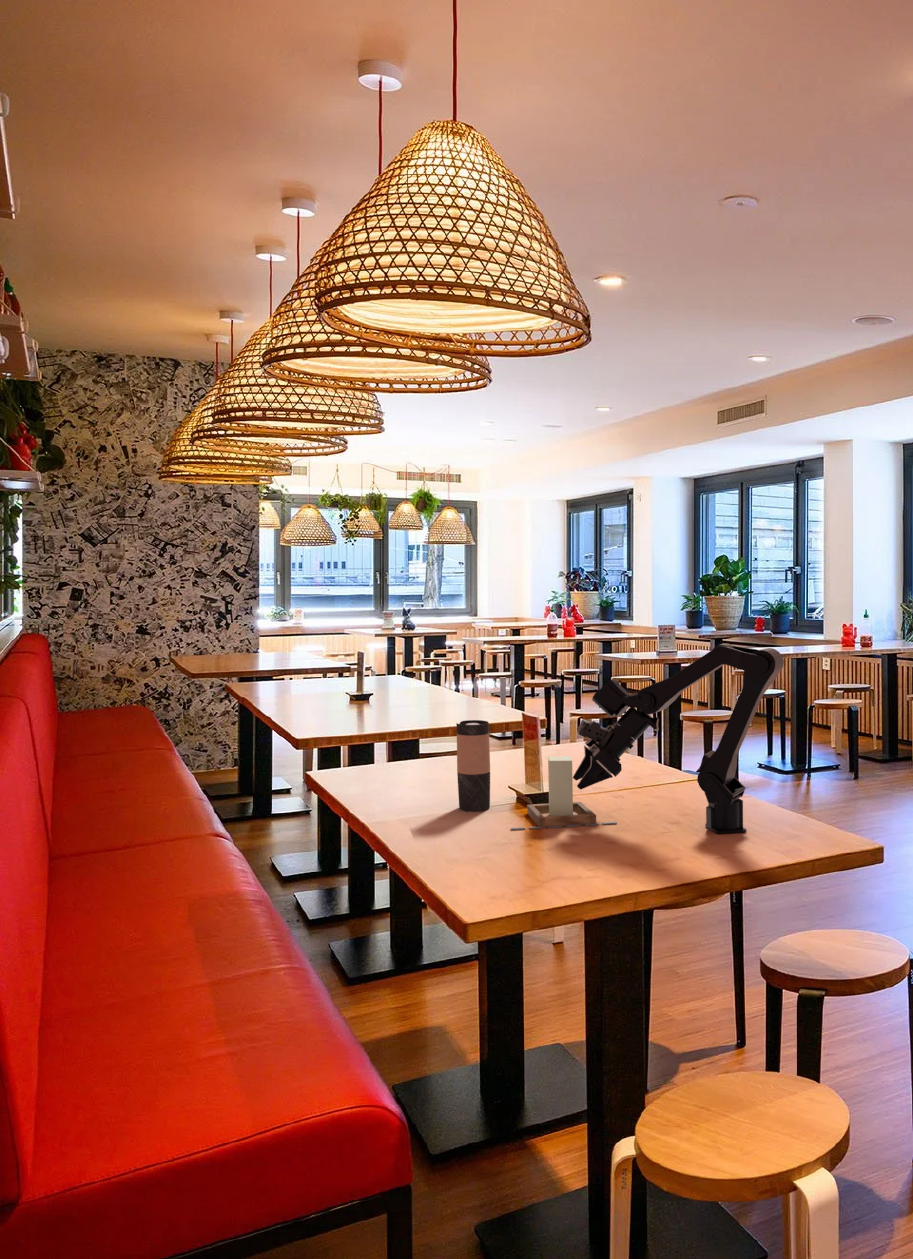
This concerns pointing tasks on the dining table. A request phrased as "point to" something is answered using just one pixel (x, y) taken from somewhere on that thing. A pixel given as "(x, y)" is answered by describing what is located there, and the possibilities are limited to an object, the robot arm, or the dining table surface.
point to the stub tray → (542, 817)
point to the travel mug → (473, 765)
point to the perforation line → (561, 826)
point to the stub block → (560, 785)
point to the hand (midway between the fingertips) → (576, 783)
